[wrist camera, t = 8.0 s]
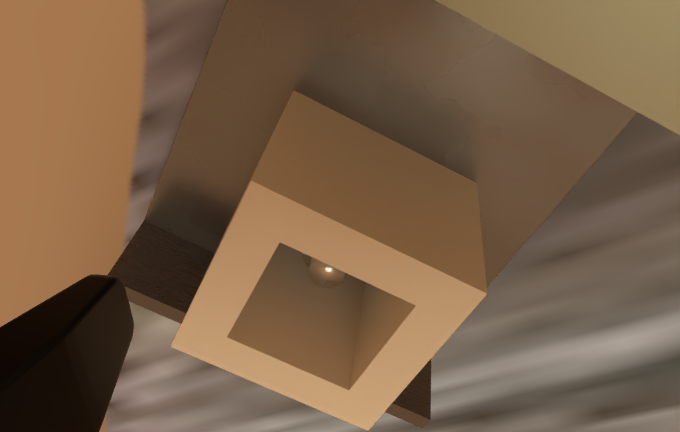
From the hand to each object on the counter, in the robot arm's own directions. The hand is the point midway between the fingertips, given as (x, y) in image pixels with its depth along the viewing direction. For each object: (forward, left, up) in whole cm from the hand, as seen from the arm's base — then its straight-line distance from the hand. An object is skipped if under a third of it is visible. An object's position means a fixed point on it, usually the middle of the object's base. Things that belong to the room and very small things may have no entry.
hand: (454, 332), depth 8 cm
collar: (0, +6, -11) cm, 12 cm away
